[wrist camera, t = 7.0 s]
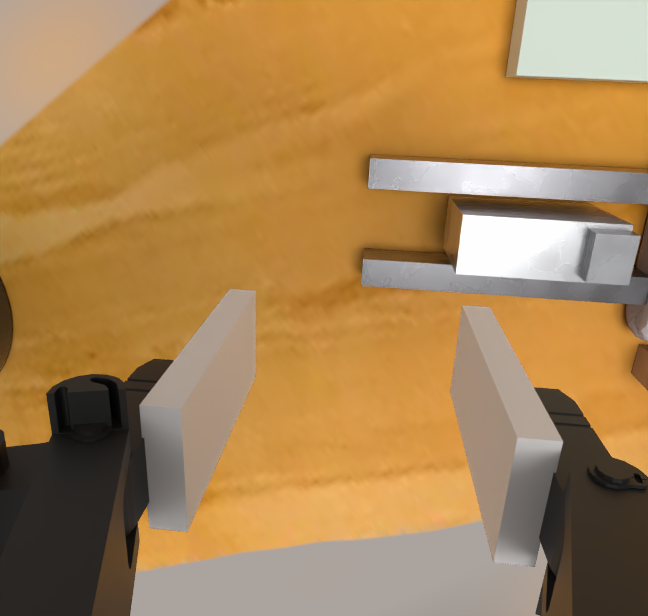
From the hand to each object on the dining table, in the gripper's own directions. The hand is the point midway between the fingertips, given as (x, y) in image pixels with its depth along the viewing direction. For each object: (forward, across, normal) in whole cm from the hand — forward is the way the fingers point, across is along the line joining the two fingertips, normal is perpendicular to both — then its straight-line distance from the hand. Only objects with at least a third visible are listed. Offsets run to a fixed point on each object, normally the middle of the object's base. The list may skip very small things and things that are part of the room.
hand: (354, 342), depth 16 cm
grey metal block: (+19, +9, 0) cm, 21 cm away
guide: (+19, +8, 0) cm, 20 cm away
